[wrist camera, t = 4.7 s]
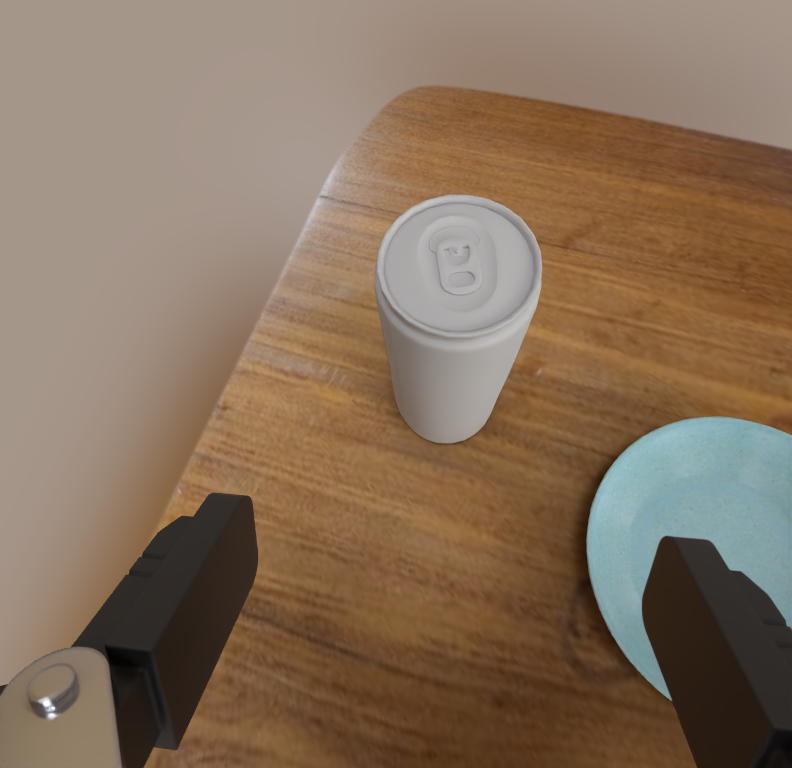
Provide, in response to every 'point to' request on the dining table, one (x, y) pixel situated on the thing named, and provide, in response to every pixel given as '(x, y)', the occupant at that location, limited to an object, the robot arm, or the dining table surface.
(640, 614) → the saucer
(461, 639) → the dining table surface
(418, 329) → the beverage can
